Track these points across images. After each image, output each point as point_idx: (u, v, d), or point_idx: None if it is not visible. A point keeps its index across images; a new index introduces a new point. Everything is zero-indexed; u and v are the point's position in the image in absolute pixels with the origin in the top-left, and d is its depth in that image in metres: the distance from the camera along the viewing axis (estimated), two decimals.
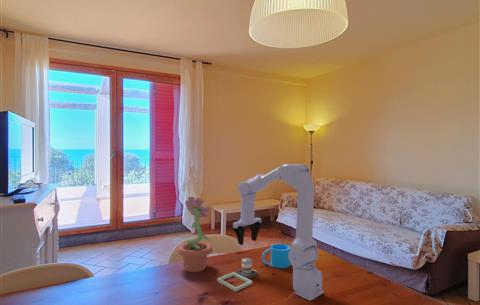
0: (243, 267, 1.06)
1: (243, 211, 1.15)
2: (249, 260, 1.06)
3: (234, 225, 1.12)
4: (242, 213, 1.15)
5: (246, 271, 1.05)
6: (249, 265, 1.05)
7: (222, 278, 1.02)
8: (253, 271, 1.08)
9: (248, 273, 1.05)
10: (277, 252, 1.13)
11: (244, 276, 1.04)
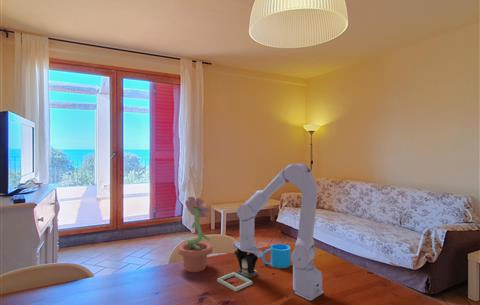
0: (243, 267, 1.06)
1: None
2: None
3: None
4: None
5: (246, 271, 1.05)
6: None
7: (222, 278, 1.02)
8: (253, 271, 1.08)
9: (248, 273, 1.05)
10: (277, 252, 1.13)
11: (244, 276, 1.04)
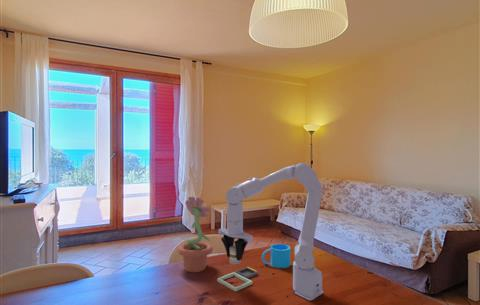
0: (231, 254, 0.99)
1: None
2: None
3: None
4: None
5: (235, 258, 0.98)
6: None
7: (222, 278, 1.02)
8: (253, 271, 1.08)
9: (237, 260, 0.99)
10: (277, 252, 1.13)
11: (244, 276, 1.04)
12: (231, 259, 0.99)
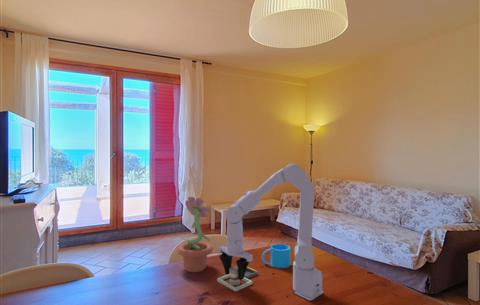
0: (231, 277, 0.99)
1: None
2: (237, 269, 1.00)
3: None
4: None
5: (235, 280, 0.98)
6: None
7: (222, 278, 1.02)
8: (253, 271, 1.08)
9: (237, 283, 0.98)
10: (277, 252, 1.13)
11: (244, 276, 1.04)
12: (231, 281, 0.99)
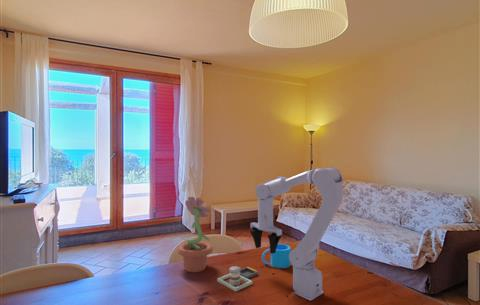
0: (231, 277, 0.99)
1: None
2: (237, 269, 1.00)
3: None
4: None
5: (235, 280, 0.98)
6: (238, 274, 0.99)
7: (222, 278, 1.02)
8: (253, 271, 1.08)
9: (237, 283, 0.98)
10: (277, 252, 1.13)
11: (244, 276, 1.04)
12: (231, 281, 0.99)
